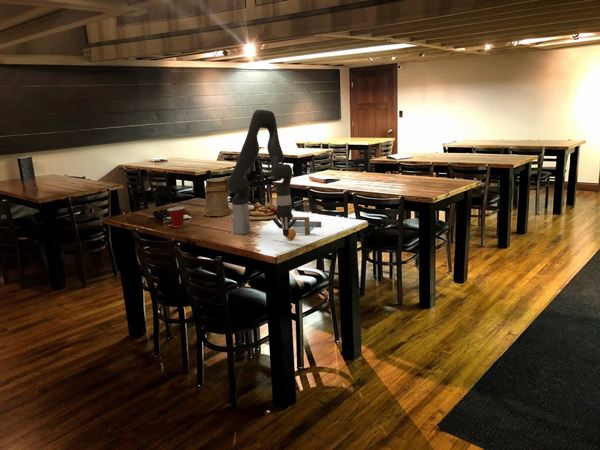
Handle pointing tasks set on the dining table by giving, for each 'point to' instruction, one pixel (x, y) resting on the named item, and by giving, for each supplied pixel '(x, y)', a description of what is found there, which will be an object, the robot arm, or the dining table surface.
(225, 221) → the dining table surface
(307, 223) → the tan arch
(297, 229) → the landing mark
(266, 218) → the wooden plate with food
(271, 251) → the dining table surface
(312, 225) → the wall
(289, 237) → the ball
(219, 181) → the tankard
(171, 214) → the plastic cup
